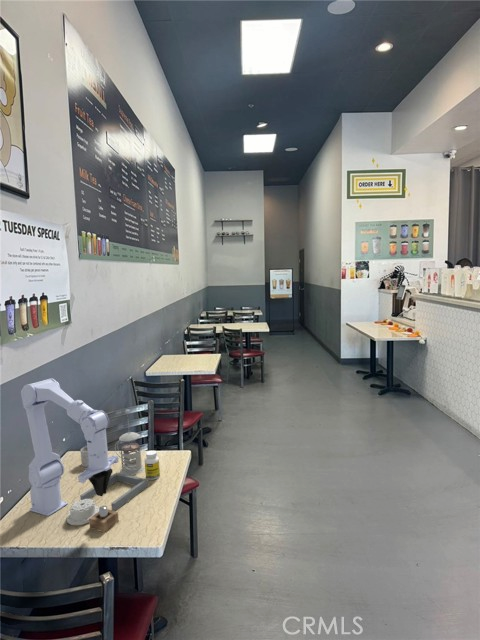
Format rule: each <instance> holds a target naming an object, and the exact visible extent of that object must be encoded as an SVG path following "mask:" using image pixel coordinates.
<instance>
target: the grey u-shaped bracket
mask: <svg viewBox="0 0 480 640" xmlns="http://www.w3.org/2000/svg"><path fill="white" fill-rule="evenodd" d="M116 482H119V483H124V484H129V485H134V486H133V487H132V488H131V489H129V490H128V491H126V492H125V493H123V494H121V496H119V497H117V498H116V499H115V500H114V501H112V502H111V505H110V507H111V510H112V511H117V510H118V509H119V508H121V507H122V506H123V505H125V504H126V503H127V502H129V501H130V500H132V499H133V498H134V497H135V496H137V495H138V494H140V493H141V492H142V491H144V490H145V489H146V488H147V487H148V486H149V480H148V479H146V478H142V477H138V476H135V475H130V476H129V475H124V474H120V472H115V473H112V474H111V476H110V479H109V482H108V487H110V486H111V485H113V484H114V483H116ZM94 495H95V496H97V494H96V492H95V489H94V487H93V486H92V487H91V488H90V489H88V490H87V491H85V492H83V493H82V494H80V495H79V496H80V497H79V498H80V500H84V499H89V498H90V499H92V498H93V497H95V496H94ZM91 497H92V498H91ZM132 497H133V498H132ZM129 499H130V500H129ZM128 500H129V501H128Z"/></svg>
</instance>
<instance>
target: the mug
mask: <svg viewBox="0 0 480 640" xmlns="http://www.w3.org/2000/svg"><path fill="white" fill-rule="evenodd" d="M79 450H80V460H81V466H82V467H83V468H88V467H89V460H88V449H87V445H85V446H84V447H82V448H80V449H79Z"/></svg>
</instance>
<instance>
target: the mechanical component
mask: <svg viewBox="0 0 480 640" xmlns="http://www.w3.org/2000/svg"><path fill="white" fill-rule="evenodd" d="M99 508H100V506H98V505H96V502H95V500H93V499H92V498H90V499H84V500H81V499H80V500H78V501H74V502H73V503H71V505H70V507H69V511H68V514H67V515H66V523H67V524H69V525H71V526H82V525H85V524H88V523H89V518H91V517H92V516H93V515H95V514H96V513H98V512H99ZM89 524H90V523H89Z"/></svg>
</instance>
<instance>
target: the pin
mask: <svg viewBox="0 0 480 640" xmlns="http://www.w3.org/2000/svg"><path fill="white" fill-rule="evenodd" d="M107 509H108V506H107V505H102V506H99V514H100V519H103V520H104V519H105V518H107V517H108V511H107Z"/></svg>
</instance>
